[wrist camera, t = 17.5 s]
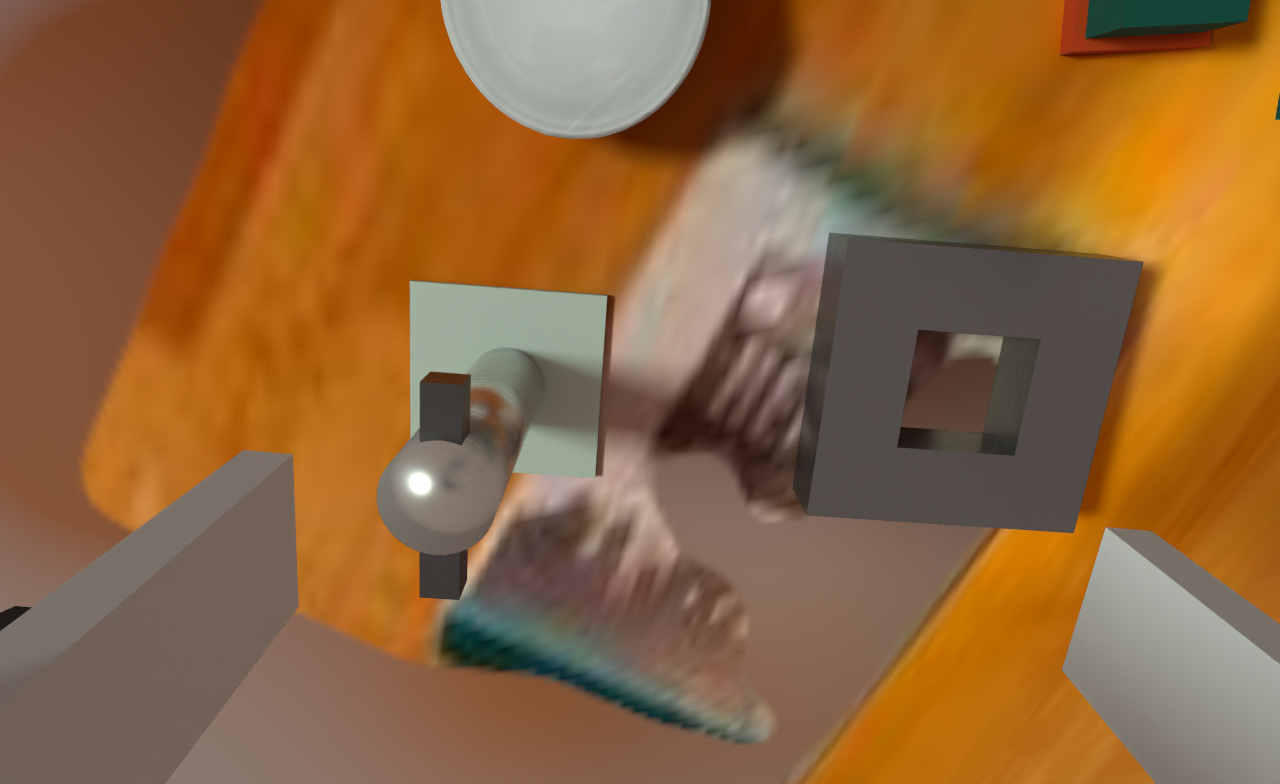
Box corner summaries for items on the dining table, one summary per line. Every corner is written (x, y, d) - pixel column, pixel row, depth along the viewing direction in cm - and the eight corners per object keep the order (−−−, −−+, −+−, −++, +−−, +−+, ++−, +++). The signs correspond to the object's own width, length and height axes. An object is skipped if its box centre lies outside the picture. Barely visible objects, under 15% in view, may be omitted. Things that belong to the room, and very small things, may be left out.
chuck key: (467, 453, 41) (378, 602, 27) (469, 306, 39) (374, 382, 25) (541, 458, 41) (492, 609, 27) (548, 312, 39) (499, 392, 25)
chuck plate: (829, 232, 39) (848, 238, 35) (1099, 254, 39) (1143, 261, 36) (792, 488, 42) (806, 515, 39) (1038, 504, 43) (1073, 533, 40)
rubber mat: (412, 280, 39) (409, 281, 39) (607, 294, 39) (607, 296, 39) (412, 462, 42) (410, 465, 41) (595, 475, 42) (594, 477, 42)
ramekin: (596, -179, 34) (590, -242, 29) (749, 33, 36) (769, 10, 31) (414, -1, 36) (378, -31, 30) (571, 189, 38) (562, 192, 33)
